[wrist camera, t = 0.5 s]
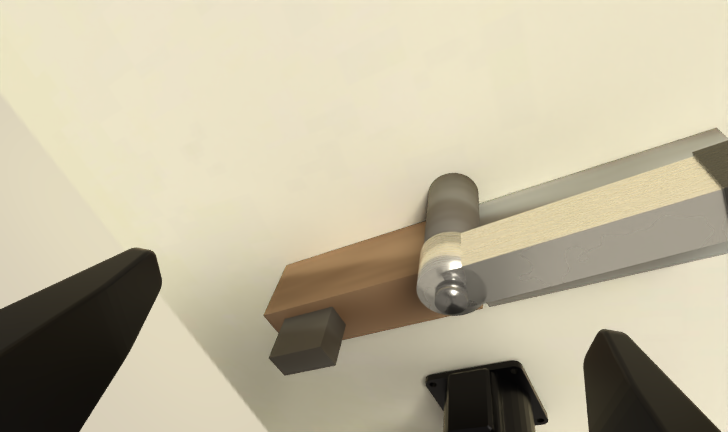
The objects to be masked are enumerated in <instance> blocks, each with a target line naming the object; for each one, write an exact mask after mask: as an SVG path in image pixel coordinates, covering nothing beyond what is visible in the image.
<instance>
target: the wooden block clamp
mask: <svg viewBox="0 0 728 432" xmlns="http://www.w3.org/2000/svg"><path fill="white" fill-rule="evenodd" d="M727 140H728V138H727V137H726V136H725V135H724V134H723V133H722V132H721V131H720V130H719V129H717V128H715V129H712V130H709V131H706V132H702V133H699V134H696V135H693V136H690V137H687V138H684V139H681V140H677V141H674V142H671V143H668V144H665V145H662V146H659V147H655V148H652V149H649V150H646V151H643V152H640V153H637V154H634V155H630V156H627V157H624V158H621V159H618V160H615V161H612V162H609V163H605V164H602V165H599V166H596V167H593V168H590V169H587V170H584V171H580V172H577V173H574V174H571V175H568V176H565V177H562V178H558V179H555V180H552V181H549V182H546V183H543V184H540V185H537V186H533V187H530V188H527V189H524V190H521V191H518V192H515V193H512V194H508V195H505V196H502V197H499V198H496V199H493V200H490V201H487V202H483V203H480V204H479V198H478V189H477V186H476V184H475V183H474V182H473V181H472V180H471V179H470V178H469V177H467V176H465V175H462V174H458V173H449V174H445V175H442V176H440V177H438V178H437V179H436V180H435V181H434V182H433V183H432V184H431V186H430V189H429V196H428V206H427V216H426V221H424V222H421V223H418V224H415V225H411V226H408V227H405V228H402V229H399V230H396V231H393V232H390V233H386V234H383V235H380V236H377V237H374V238H371V239H368V240H364V241H361V242H358V243H355V244H352V245H349V246H346V247H343V248H339V249H336V250H333V251H330V252H327V253H324V254H321V255H318V256H314V257H311V258H308V259H305V260H302V261H299V262H296V263H293V264H289V265H286V267H285V269H284V272H283V274H282V276H281V278H280V280H279V283H278V285H277V287H276V289H275V291H274V293H273V296H272V298H271V300H270V302H269V304H268V307H267V309H266V311H265V313H264V315H263V316H264V317H265V318H266V319H267V320H268V321H269V323H270V324H271V325H272V326H273V327H274V328H275V330H276V331H277V332H278V333H279V334H278V337H277V339H276V342H275V344H274V347H273V349H272V351H271V354H270V356H269V359H270V360H271V361H272V362H273V363H274V364H275V366H276V367H277V368H278V369H279V370H280V371H281V372H282V373H283V374H284V375H290V374H295V373H300V372H305V371H310V370H315V369H320V368H325V367H330V366H335V365H336V361H337V358H338V354H339V350H340V346H341V342H342V340H345V339H349V338H354V337H358V336H363V335H367V334H372V333H376V332H380V331H385V330H389V329H394V328H398V327H403V326H407V325H412V324H416V323H420V322H425V321H429V320H434V319H438V318H443V317H447V316H450V315H443V314H439V313H437V312H434V311H432V310H430V309H429V308H427V307H426V306H425V305H424V304H423V303H422V302H421V301H420V299H419V297H418V295H417V279H418V270H419V261H420V252H421V249H422V246H423V245H424V243H425V242H426V241H427V240H428V239H430V238H431V237H433V236H434V235H437V234H440V233H444V232H459V233H462V232H465V231H468V230H471V229H475V228H478V227H481V226H484V225H487V224H490V223H493V222H496V221H499V220H502V219H505V218H508V217H511V216H514V215H517V214H520V213H523V212H526V211H529V210H532V209H535V208H538V207H541V206H544V205H547V204H550V203H553V202H556V201H559V200H562V199H565V198H568V197H571V196H574V195H578V194H581V193H584V192H587V191H590V190H593V189H596V188H599V187H602V186H605V185H608V184H611V183H614V182H617V181H620V180H623V179H626V178H629V177H632V176H635V175H638V174H641V173H644V172H647V171H650V170H653V169H656V168H659V167H662V166H665V165H668V164H671V163H674V162H677V161H681V160H684V159H687V158H690V157H693V154H692V152H694V151H697V150H700V149H703V148H706V147H709V146H712V145H715V144H718V143H721V142H724V141H727ZM727 253H728V241H726V242H722V243H718V244H714V245H710V246H707V247H703V248H699V249H695V250H691V251H687V252H683V253H679V254H675V255H671V256H668V257H664V258H660V259H656V260H652V261H648V262H644V263H640V264H636V265H632V266H629V267H625V268H621V269H617V270H613V271H609V272H605V273H601V274H597V275H593V276H590V277H586V278H582V279H578V280H574V281H570V282H566V283H562V284H558V285H554V286H551V287H547V288H543V289H539V290H535V291H531V292H527V293H523V294H519V295H515V296H512V297H508V298H504V299H500V300H496V301H492V302H488V303H487V304H488V306H489V307H492V306H496V305H501V304H505V303H509V302H514V301H518V300H523V299H527V298H532V297H536V296H541V295H545V294H550V293H554V292H558V291H563V290H567V289H572V288H576V287H581V286H585V285H590V284H594V283H598V282H603V281H607V280H612V279H616V278H621V277H625V276H630V275H634V274H638V273H643V272H647V271H652V270H656V269H661V268H665V267H670V266H674V265H679V264H683V263H687V262H692V261H696V260H701V259H705V258H710V257H714V256H719V255H723V254H727ZM478 309H483V304H482V305H481V306H480V307H479V308H478ZM478 309H476V310H478Z"/></svg>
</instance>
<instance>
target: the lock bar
mask: <svg viewBox="0 0 728 432" xmlns="http://www.w3.org/2000/svg"><path fill="white" fill-rule="evenodd" d="M692 154H693V157H690V158H687V159H684V160H681V161H677V162H674V163H671V164H668V165H665V166H662V167H659V168H656V169H653V170H650V171H647V172H644V173H641V174H638V175H635V176H632V177H629V178H626V179H623V180H620V181H617V182H614V183H611V184H608V185H605V186H602V187H599V188H596V189H593V190H590V191H587V192H584V193H581V194H578V195H574V196H571V197H568V198H565V199H562V200H559V201H556V202H553V203H550V204H547V205H544V206H541V207H538V208H535V209H532V210H529V211H526V212H523V213H520V214H517V215H514V216H511V217H508V218H505V219H502V220H499V221H496V222H493V223H490V224H487V225H484V226H481V227H478V228H475V229H471V230H468V231H465V232H462V233H459V232H444V233H440V234H437V235H434V236H433V237H431V238H430V239H428V240H427V241H426V242H425V243H424V245H423V246H422V249H421V252H420V261H419V270H418V279H417V295H418V297H419V299H420V301H421V302H422V303H423V304H424V305H425V306H426V307H427V308H429V309H430V310H432V311H434V312H437V313H439V314H443V315H450V316H457V315H464V314H468V313H471V312H473V311H475V310H476V309H478V308H479V307H480V306H481V305H482V304H484V303H488V302H492V301H496V300H500V299H504V298H508V297H512V296H515V295H519V294H523V293H527V292H531V291H535V290H539V289H543V288H547V287H551V286H554V285H558V284H562V283H566V282H570V281H574V280H578V279H582V278H586V277H590V276H593V275H597V274H601V273H605V272H609V271H613V270H617V269H621V268H625V267H629V266H632V265H636V264H640V263H644V262H648V261H652V260H656V259H660V258H664V257H668V256H671V255H675V254H679V253H683V252H687V251H691V250H695V249H699V248H703V247H707V246H710V245H714V244H718V243H722V242H726V241H728V140H727V141H724V142H721V143H718V144H715V145H712V146H709V147H706V148H703V149H700V150H697V151H694V152H692Z"/></svg>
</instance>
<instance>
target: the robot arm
mask: <svg viewBox="0 0 728 432" xmlns="http://www.w3.org/2000/svg"><path fill="white" fill-rule="evenodd" d="M161 285H162V278H161V274H160V270H159V266H158V262H157V258H156V255H155V253H154V252H153V251H151V250H147V249H142V248H131V249H129V250H127V251H124V252H122V253H121V254H118V255H116V256H114V257H112V258H109V259H107V260H105V261H103V262H101V263H99V264H97V265H95V266H92V267H90V268H88V269H86V270H84V271H81V272H79V273H77V274H75V275H73V276H71V277H69V278H66V279H64V280H62V281H60V282H58V283H56V284H54V285H51V286H49V287H47V288H45V289H43V290H41V291H39V292H36V293H34V294H32V295H30V296H28V297H26V298H24V299H21V300H19V301H17V302H15V303H13V304H11V305H8V306H7V307H4V308H2V309H0V432H79V431H80V430H81V428H82V427H83V425H84V423H85V422H86V420H87V419H88V417H89V416H90V414H91V412H92V411H93V409H94V408H95V406H96V404H97V403H98V401H99V400H100V398H101V397H102V395H103V393H104V392H105V390H106V389H107V387H108V386H109V384H110V382H111V381H112V379H113V378H114V376H115V374H116V373H117V371H118V370H119V368H120V366H121V365H122V363H123V362H124V360H125V358H126V357H127V355H128V353H129V352H130V350H131V348H132V346H133V344H134V342H135V340H136V338H137V336H138V334H139V332H140V330H141V328H142V326H143V324H144V322H145V320H146V318H147V316H148V314H149V312H150V310H151V308H152V306H153V304H154V302H155V300H156V298H157V296H158V294H159V291H160V289H161ZM583 369H584V380H585V392H586V403H587V414H588V426H589V432H721V431H720V430H719V429H718V428H717V427H716V426H715V425H714V424H713V423H712V422H711V421H710V420H709V419H708V418H707V417H706V416H705V414H704V413H703V412H702V411H701V410H700V409H699V408H698V407H697V406H696V405H695V404H694V403H693V402H692V401H691V400H690V399H689V398H688V397H687V396H686V395H685V394H684V393H683V392H682V391H681V390H680V389H679V388H678V387H677V386H676V385H675V384H674V383H673V382H672V381H671V380H670V378H669V377H668V376H667V375H666V374H665V373H664V372H663V371H662V370H661V369H660V368H659V367H658V366H657V365H656V364H655V363H654V362H653V361H652V360H651V359H650V358H649V357H648V356H647V355H646V354H645V353H644V352H643V351H642V350H641V349H640V348H639V347H638V346H637V345H636V343H635V342H634V341H633V340H632V339H631V338H630V337H629V336H628V335H626V334H625V333H623V332H618V331H612V330H607V329H602V330H600V331H599V332H598V333H597V335H596V337H595V339H594V341H593V342H592V344H591V346H590V348H589V350H588V352H587V354H586V356H585V359H584V365H583ZM426 386H427V388H428V389H429V391H430V392H431V394H432V395H433V397H434V398H435V399H436V401H437V402H438V404H439V405H440V407H441V408H442V410H443V411H444V425H443V432H535V425H543V424H546V423H547V422H548V417H547V413H546V411H545V409H544V407H543V405H542V403H541V401H540V399H539V397H538V395H537V393H536V392H535V390H534V388H533V386H532V384H531V382H530V380H529V378H528V376H527V374H526V372H525V370H524V368H523V366H522V364H521V363H520V362H517V361H509V362H503V363H498V364H492V365H486V366H480V367H474V368H469V369H463V370H457V371H451V372H446V373H440V374H434V375H429V376H427V377H426Z"/></svg>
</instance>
